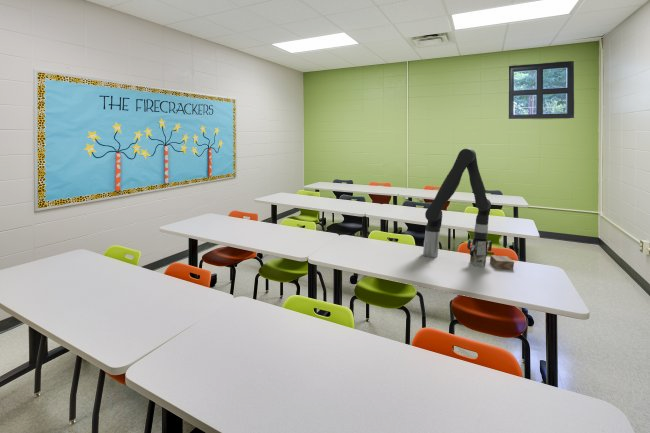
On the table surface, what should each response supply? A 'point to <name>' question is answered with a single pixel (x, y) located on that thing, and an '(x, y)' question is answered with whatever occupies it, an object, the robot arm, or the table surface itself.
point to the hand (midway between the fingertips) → (478, 256)
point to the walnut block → (501, 262)
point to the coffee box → (479, 253)
